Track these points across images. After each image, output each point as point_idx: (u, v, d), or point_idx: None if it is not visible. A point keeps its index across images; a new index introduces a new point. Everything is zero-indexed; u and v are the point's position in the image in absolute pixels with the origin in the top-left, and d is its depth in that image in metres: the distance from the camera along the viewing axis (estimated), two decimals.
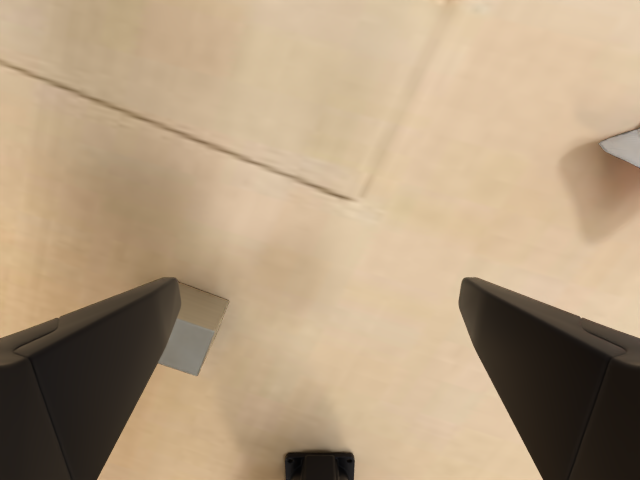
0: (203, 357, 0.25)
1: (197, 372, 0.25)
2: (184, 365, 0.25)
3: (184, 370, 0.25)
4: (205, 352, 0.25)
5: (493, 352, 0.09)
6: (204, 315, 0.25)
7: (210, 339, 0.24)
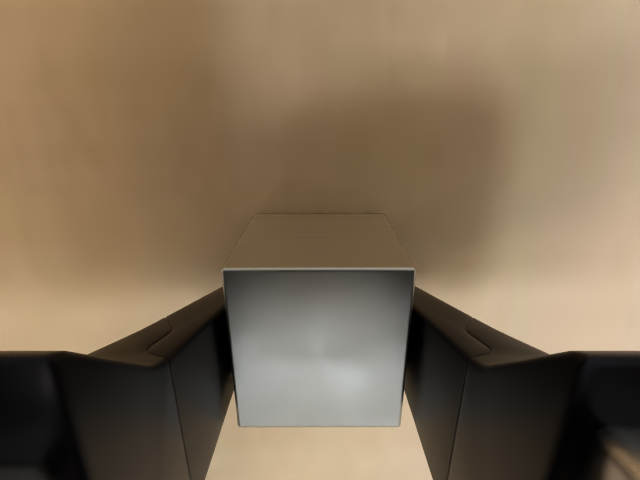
0: (308, 425, 0.09)
1: (252, 425, 0.09)
2: (259, 394, 0.09)
3: (243, 397, 0.09)
4: (326, 425, 0.09)
5: None
6: None
7: (372, 425, 0.09)
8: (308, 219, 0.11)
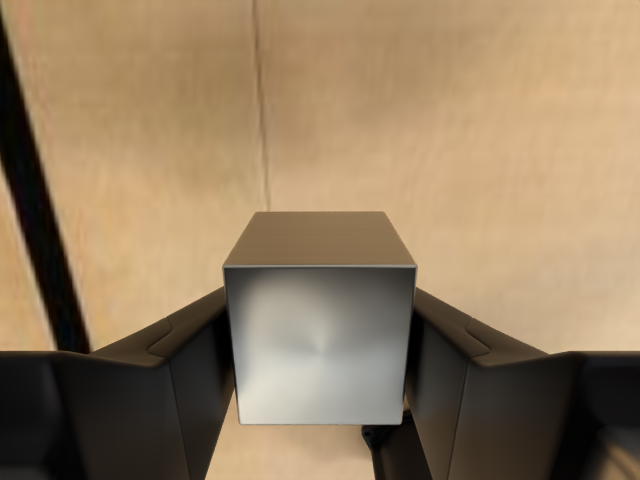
0: (309, 423, 0.09)
1: (252, 423, 0.09)
2: (260, 392, 0.09)
3: (244, 395, 0.09)
4: (327, 423, 0.09)
5: None
6: None
7: (373, 423, 0.09)
8: (309, 217, 0.11)
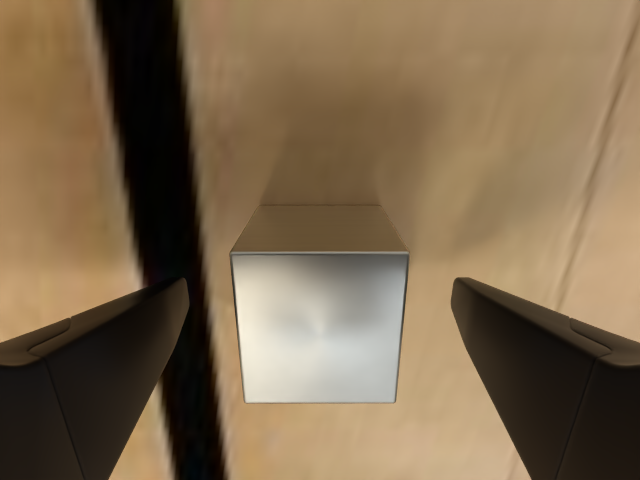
0: (309, 401, 0.10)
1: (256, 401, 0.10)
2: (263, 371, 0.09)
3: (249, 374, 0.09)
4: (326, 401, 0.10)
5: (483, 352, 0.09)
6: None
7: (369, 401, 0.10)
8: (309, 210, 0.11)
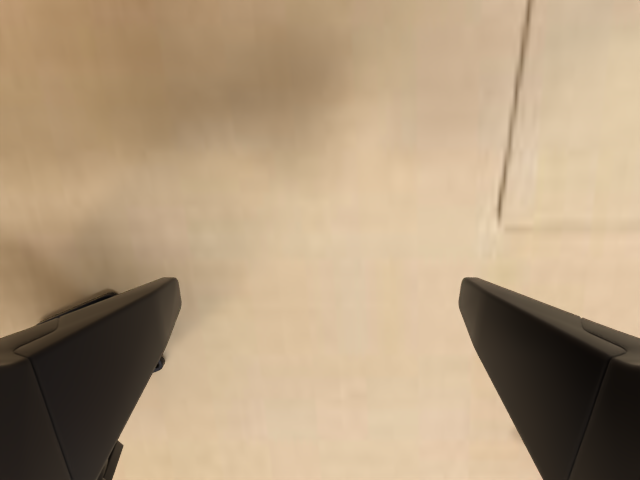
0: None
1: None
2: None
3: None
4: None
5: (493, 352, 0.09)
6: None
7: None
8: None
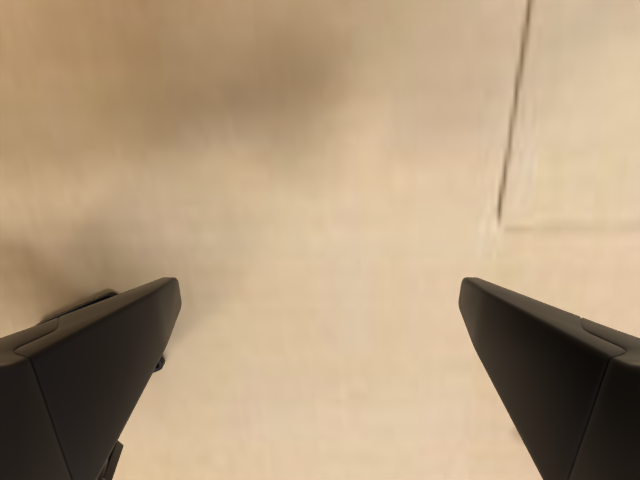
0: None
1: None
2: None
3: None
4: None
5: (493, 352, 0.09)
6: None
7: None
8: None
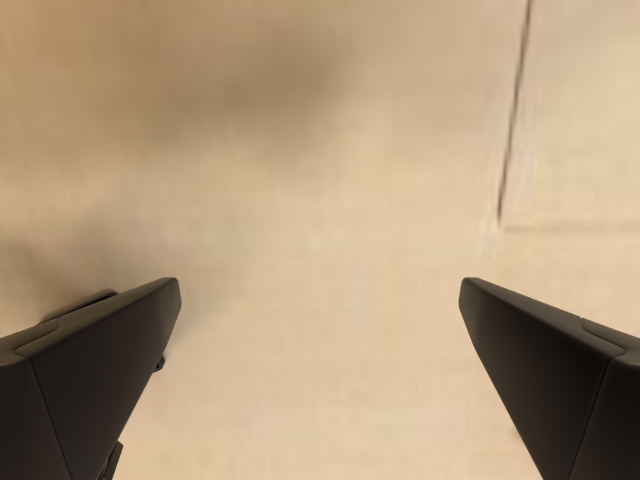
0: None
1: None
2: None
3: None
4: None
5: (493, 352, 0.09)
6: None
7: None
8: None
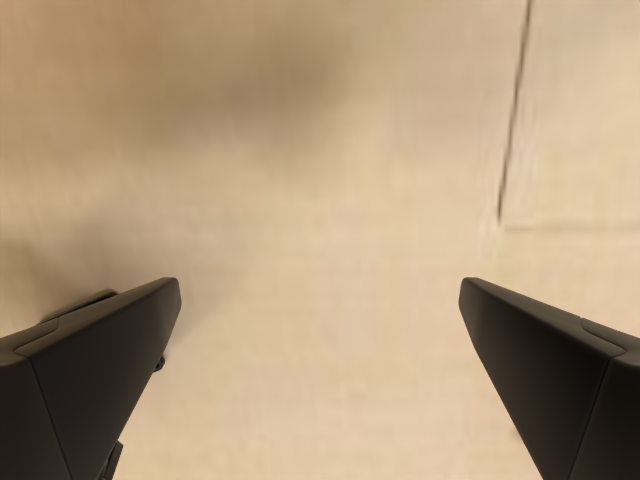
0: None
1: None
2: None
3: None
4: None
5: (493, 352, 0.09)
6: None
7: None
8: None
